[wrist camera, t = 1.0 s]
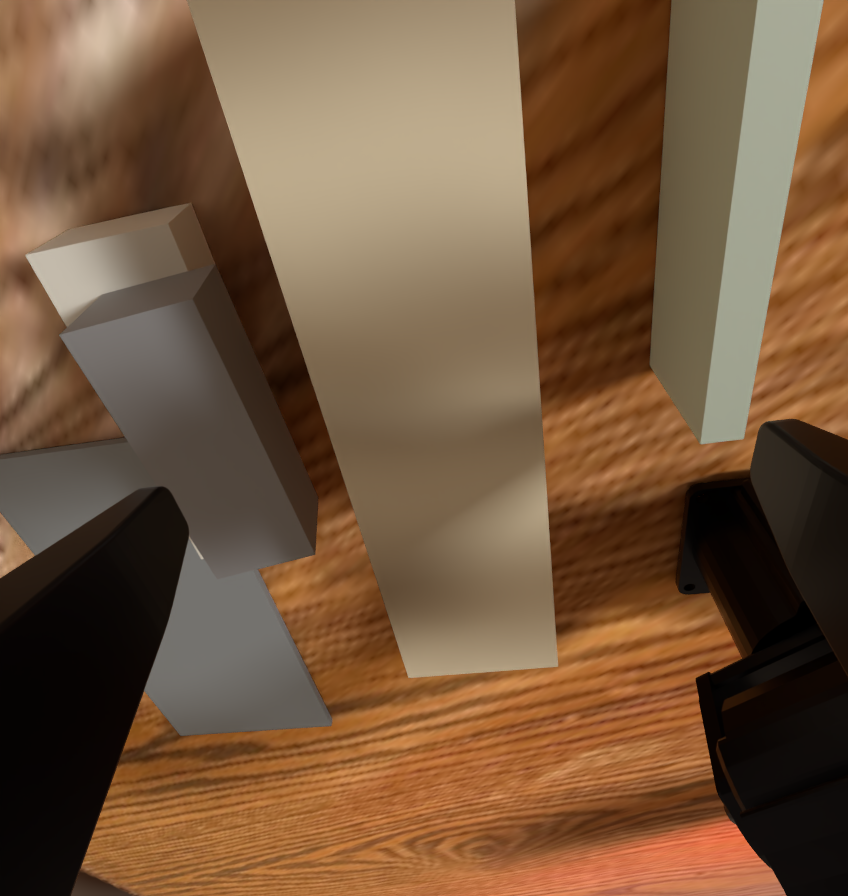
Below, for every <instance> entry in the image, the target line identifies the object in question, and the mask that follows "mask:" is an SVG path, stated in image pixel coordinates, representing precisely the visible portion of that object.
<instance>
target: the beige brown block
mask: <svg viewBox="0 0 848 896" xmlns="http://www.w3.org/2000/svg"><path fill="white" fill-rule="evenodd" d="M187 2H188V5H189V9H190V12H191V15H192V18H193V21H194V24H195V27H196V30H197V33H198V36H199V39H200V42H201V45H202V48H203V51H204V54H205V57H206V60H207V64H208V67H209V70H210V73H211V76H212V79H213V82H214V85H215V88H216V91H217V94H218V97H219V100H220V103H221V106H222V109H223V112H224V115H225V119H226V122H227V125H228V128H229V131H230V134H231V137H232V140H233V143H234V146H235V149H236V152H237V155H238V158H239V161H240V164H241V167H242V170H243V173H244V177H245V180H246V183H247V186H248V189H249V192H250V195H251V198H252V201H253V204H254V207H255V210H256V213H257V216H258V219H259V222H260V225H261V228H262V232H263V235H264V238H265V241H266V244H267V247H268V250H269V253H270V256H271V259H272V262H273V265H274V268H275V271H276V274H277V277H278V280H279V283H280V287H281V290H282V293H283V296H284V299H285V302H286V305H287V308H288V311H289V314H290V317H291V320H292V323H293V326H294V329H295V332H296V335H297V338H298V341H299V345H300V348H301V351H302V354H303V357H304V360H305V363H306V366H307V369H308V372H309V375H310V378H311V381H312V384H313V387H314V390H315V393H316V396H317V400H318V403H319V406H320V409H321V412H322V415H323V418H324V421H325V424H326V427H327V430H328V433H329V436H330V439H331V442H332V445H333V448H334V451H335V455H336V458H337V461H338V464H339V467H340V470H341V473H342V476H343V479H344V482H345V485H346V488H347V491H348V494H349V497H350V500H351V503H352V506H353V509H354V513H355V516H356V519H357V522H358V525H359V528H360V531H361V534H362V537H363V540H364V543H365V546H366V549H367V552H368V555H369V558H370V561H371V564H372V568H373V571H374V574H375V577H376V580H377V583H378V586H379V589H380V592H381V595H382V598H383V601H384V604H385V607H386V610H387V613H388V616H389V619H390V623H391V626H392V629H393V632H394V635H395V638H396V641H397V644H398V647H399V650H400V653H401V656H402V659H403V662H404V665H405V668H406V671H407V674H408V677H409V678H414V677H428V676H441V675H454V674H467V673H480V672H493V671H507V670H520V669H533V668H546V667H558V658H557V643H556V627H555V612H554V596H553V581H552V566H551V550H550V535H549V519H548V504H547V489H546V473H545V458H544V442H543V427H542V412H541V396H540V381H539V365H538V350H537V335H536V319H535V304H534V288H533V273H532V258H531V242H530V227H529V211H528V196H527V181H526V165H525V150H524V134H523V119H522V104H521V88H520V73H519V57H518V42H517V27H516V11H515V0H187Z"/></svg>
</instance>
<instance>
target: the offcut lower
mask: <svg viewBox="0 0 848 896" xmlns="http://www.w3.org/2000/svg"><path fill="white" fill-rule="evenodd" d="M25 256H26V258H27V259H28V261H29V263H30V265H31V266H32V268H33V270H34V271H35V273H36V275H37V277H38V278H39V280H40V282H41V284H42V285H43V287H44V289H45V290H46V292H47V294H48V296H49V297H50V299H51V301H52V303H53V304H54V306H55V308H56V309H57V311H58V313H59V315H60V316H61V318H62V320H63V322H64V323H65V325H66V327H68V326H69V325H70V324H71V323H72V322H73V321H74V320H75V319H76V318H78V317H79V316H80V315H81V314H82V313H83V312H84V311H85V310H86V309H87V308H88V307H89V306H90V305H91V304H92V303H93V302H95V301H96V300H97V299H98V298H99V297H100V296H101V295H102V294H105V293H109V292H113V291H116V290H120V289H124V288H128V287H131V286H135V285H139V284H142V283H146V282H150V281H153V280H157V279H161V278H164V277H168V276H172V275H176V274H179V273H183V272H187V271H190V270H194V269H198V268H201V267H205V266H209V265H213V264H215V262H214V260H213V257H212V255H211V252H210V249H209V247H208V244H207V242H206V239H205V237H204V234H203V232H202V229H201V226H200V224H199V221H198V219H197V216H196V214H195V211H194V209H193V206H192V203H187V204H182V205H177V206H172V207H167V208H163V209H158V210H154V211H149V212H145V213H140V214H136V215H131V216H127V217H122V218H118V219H113V220H108V221H104V222H99V223H95V224H90V225H86V226H81V227H77V228H72V229H68V230H67V231H65V232H63V233H62V234H60V235H58V236H56V237H55V238H53V239H51V240H50V241H48V242H46V243H45V244H43V245H41V246H39V247H38V248H36V249H34V250H33V251H31V252H29V253H28V254H26V255H25ZM189 539H190V541H191V543H192V544H193V546H194V548H195V550H196V551H197V553H198V555H199V556H200V558H201V559H204V558H203V557H202V555H201V554H200V552H199V550H198V549H197V547H196V546H195V544H194V543H193V541H192V540H191V538H190V537H189Z"/></svg>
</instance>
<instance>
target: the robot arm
mask: <svg viewBox="0 0 848 896" xmlns="http://www.w3.org/2000/svg"><path fill="white" fill-rule="evenodd" d="M750 476H751V478H743V479H734V480H725V481H716V482H707V483H699V484H695V485H693V486H691V487H690V488H689V489H688V490H687V493H686V498H685V507H684V515H683V524H682V532H681V540H680V549H679V557H678V566H677V574H676V585H677V588H678V590H679V592H680V593H682V594H699V593H711V595H712V597H713V599H714V601H715V603H716V605H717V607H718V609H719V612H720V614H721V616H722V618H723V620H724V622H725V624H726V626H727V628H728V630H729V632H730V634H731V636H732V638H733V640H734V642H735V644H736V646H737V648H738V650H739V653H740V655H741V657H742V659H740V660H738V661H736V662H734V663H732V664H730V665H728V666H726V667H724V668H722V669H720V670H717V671H715V672H713V673H710V672H707V673H705V674H703V675H701V676H699V677H697V678H696V684H697V689H698V694H699V704H700V709H701V714H702V719H703V724H704V729H705V734H706V739H707V744H708V750H709V755H710V760H711V765H712V770H713V775H714V780H715V785H716V790H717V793H718V795H719V797H720V799H721V800H722V802H723V803H724V809H725V812H726V814H727V816H728V817H729V819H730V820H731V821H732V822H733V823H734V824H736V825H737V827H738V828H739V830H740V831H741V833H742V834H743V836H744V837H745V839H746V840H747V842H748V843H749V845H750V846H751V847H752V849H753V850H754V851H755V852H756V854H757V855H758V856H759V857H760V858H761V859H762V860H763V861H764V862H765V863H766V864H767V865H768V866H769V867H770V868H771V869H772V870H773V871H774V873H775V875H776V877H777V878H778V880H779V882H780V884H781V886H782V887H783V889H784V891H785V893H786V895H787V896H848V440H847V439H845V438H842V437H840V436H837V435H835V434H832V433H830V432H827V431H825V430H822V429H820V428H817V427H815V426H812V425H810V424H807V423H805V422H802V421H800V420H797V419H785V420H776V421H768V422H765V423H764V424H762V425H761V427H760V429H759V431H758V435H757V440H756V444H755V449H754V453H753V458H752V463H751V468H750ZM701 494H703V495H702V496H700V497H697V496H699V495H701ZM188 540H189V527H188V523H187V521H186V519H185V517H184V515H183V514H182V512H181V510H180V508H179V506H178V504H177V502H176V500H175V499H174V497H173V495H172V493H171V491H170V490H169V489H168V488H166V487H163V486H156V487H147V488H140V489H138V490H136V491H134V492H133V493H131V494H130V495H128V496H126V497H125V498H123V499H122V500H120V501H119V502H117V503H116V504H114V505H113V506H111V507H110V508H108V509H106V510H105V511H103V512H102V513H100V514H99V515H97V516H96V517H94V518H93V519H91V520H90V521H88V522H86V523H85V524H83V525H82V526H80V527H79V528H77V529H76V530H74V531H73V532H71V533H70V534H68V535H66V536H65V537H63V538H62V539H60V540H59V541H57V542H56V543H54V544H53V545H51V546H50V547H48V548H46V549H45V550H43V551H42V552H40V553H39V554H37V555H36V556H34V557H33V558H31V559H29V560H28V561H26V562H25V563H23V564H22V565H20V566H19V567H17V568H16V569H14V570H13V571H11V572H9V573H8V574H6V575H5V576H3V577H2V578H0V896H71V894H72V891H73V888H74V885H75V883H76V879H77V877H78V874H79V871H80V869H81V866H82V863H83V860H84V857H85V855H86V852H87V849H88V846H89V844H90V841H91V838H92V835H93V832H94V830H95V827H96V824H97V821H98V818H99V816H100V813H101V810H102V807H103V804H104V802H105V799H106V796H107V793H108V790H109V788H110V785H111V782H112V779H113V776H114V774H115V771H116V768H117V765H118V762H119V760H120V757H121V754H122V751H123V748H124V746H125V743H126V740H127V737H128V734H129V732H130V729H131V726H132V723H133V720H134V718H135V715H136V712H137V709H138V706H139V704H140V701H141V698H142V695H143V692H144V690H145V687H146V684H147V681H148V678H149V676H150V673H151V670H152V667H153V664H154V662H155V659H156V656H157V653H158V650H159V648H160V645H161V642H162V639H163V636H164V633H165V630H166V627H167V624H168V621H169V617H170V614H171V610H172V606H173V602H174V598H175V594H176V590H177V586H178V581H179V577H180V573H181V569H182V565H183V561H184V556H185V552H186V548H187V544H188Z"/></svg>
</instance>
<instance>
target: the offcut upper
mask: <svg viewBox="0 0 848 896" xmlns="http://www.w3.org/2000/svg"><path fill="white" fill-rule="evenodd" d="M59 336H60V337H61V339H62V340H63V342H64V343H65V345H66V346H67V348H68V350H69V351H70V353H71V354H72V356H73V357H74V359H75V360H76V362H77V363H78V365H79V367H80V368H81V370H82V371H83V373H84V374H85V376H86V377H87V379H88V380H89V382H90V384H91V385H92V387H93V388H94V390H95V391H96V393H97V394H98V396H99V397H100V399H101V401H102V402H103V404H104V405H105V407H106V408H107V410H108V411H109V413H110V414H111V416H112V418H113V419H114V421H115V422H116V424H117V425H118V427H119V428H120V430H121V431H122V433H123V435H124V436H125V438H126V439H127V441H128V442H129V444H130V445H131V447H132V448H133V450H134V452H135V453H136V455H137V456H138V458H139V459H140V461H141V462H142V464H143V465H144V467H145V469H146V470H147V472H148V473H149V475H150V476H151V478H152V479H153V481H154V482H155V484H156V486H163V487H166V488H168V489H169V490H170V491H171V493H172V495H173V497H174V499H175V500H176V502H177V504H178V506H179V508H180V510H181V512H182V514H183V515H184V517H185V519H186V521H187V523H188V527H189V537H190V538H191V540H192V541H193V543H194V544H195V546H196V547H197V549H198V550H199V552H200V554H201V555H202V557H203V558H204V560H205V561H206V563H207V564H208V566H209V567H210V569H211V571H212V572H213V574H214V575H215V577H216V578H217V579H221V578H225V577H229V576H233V575H237V574H241V573H245V572H249V571H253V570H257V569H260V568H264V567H268V566H272V565H276V564H280V563H284V562H288V561H292V560H296V559H300V558H304V557H308V556H312V555H315V550H316V532H317V514H318V496H317V494H316V491H315V489H314V487H313V485H312V482H311V480H310V478H309V476H308V473H307V471H306V469H305V466H304V464H303V462H302V460H301V457H300V455H299V453H298V451H297V448H296V446H295V444H294V441H293V439H292V437H291V435H290V432H289V430H288V428H287V426H286V423H285V421H284V419H283V416H282V414H281V412H280V410H279V407H278V405H277V403H276V401H275V398H274V396H273V394H272V391H271V389H270V387H269V385H268V382H267V380H266V378H265V376H264V373H263V371H262V369H261V366H260V364H259V362H258V360H257V357H256V355H255V353H254V350H253V348H252V346H251V344H250V341H249V339H248V337H247V335H246V332H245V330H244V328H243V325H242V323H241V321H240V319H239V316H238V314H237V312H236V310H235V307H234V305H233V303H232V300H231V298H230V296H229V294H228V291H227V289H226V287H225V285H224V282H223V280H222V278H221V275H220V273H219V271H218V269H217V266H216V264H213V265H209V266H205V267H201V268H198V269H194V270H190V271H187V272H183V273H179V274H176V275H172V276H168V277H164V278H161V279H157V280H153V281H150V282H146V283H142V284H139V285H135V286H131V287H128V288H124V289H120V290H116V291H113V292H109V293H105V294H102V295H101V296H100V297H99V298H98V299H97V300H96V301H95V302H93V303H92V304H91V305H90V306H89V307H88V308H87V309H86V310H85V311H84V312H83V313H82V314H81V315H80V316H79V317H78V318H76V319H75V320H74V321H73V322H72V323H71V324H70V325H69V326H68V327H67V328H66V329H65V330H64V331H63V332H62V333H61V334H59Z"/></svg>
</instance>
